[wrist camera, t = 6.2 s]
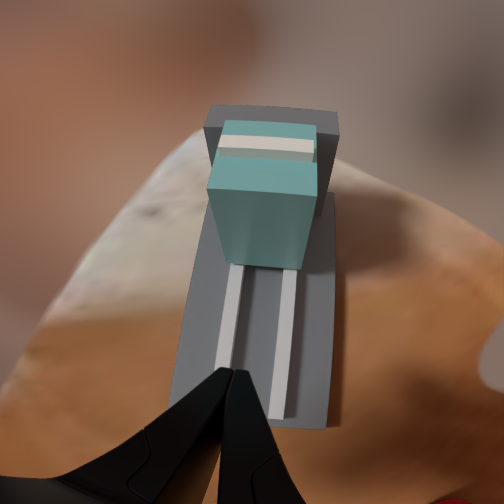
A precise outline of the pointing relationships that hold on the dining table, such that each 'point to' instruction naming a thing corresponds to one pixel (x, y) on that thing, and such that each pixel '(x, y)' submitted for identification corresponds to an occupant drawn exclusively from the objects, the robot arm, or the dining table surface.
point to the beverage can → (453, 501)
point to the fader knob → (264, 191)
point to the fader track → (266, 298)
